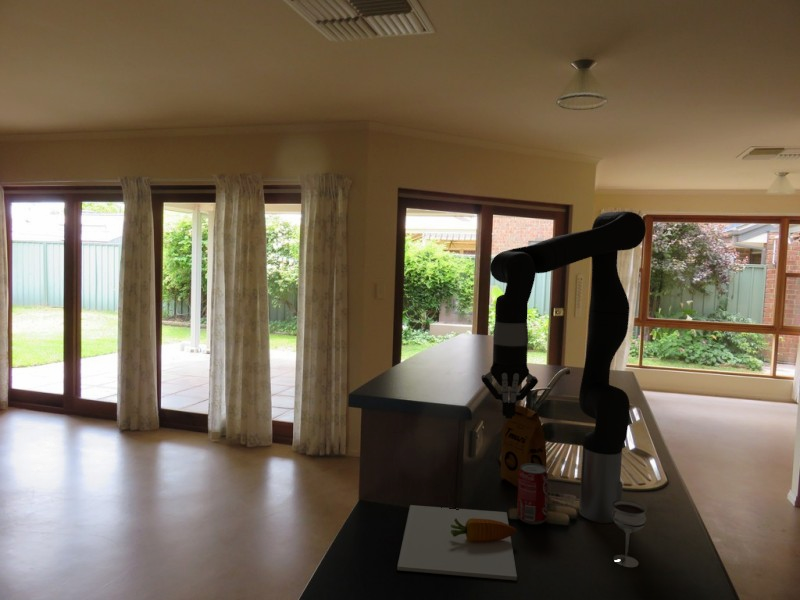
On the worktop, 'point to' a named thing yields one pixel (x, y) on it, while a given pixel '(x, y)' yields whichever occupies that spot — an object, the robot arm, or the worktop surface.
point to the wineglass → (628, 525)
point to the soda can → (532, 493)
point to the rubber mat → (453, 545)
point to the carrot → (483, 530)
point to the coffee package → (522, 443)
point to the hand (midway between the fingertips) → (508, 417)
